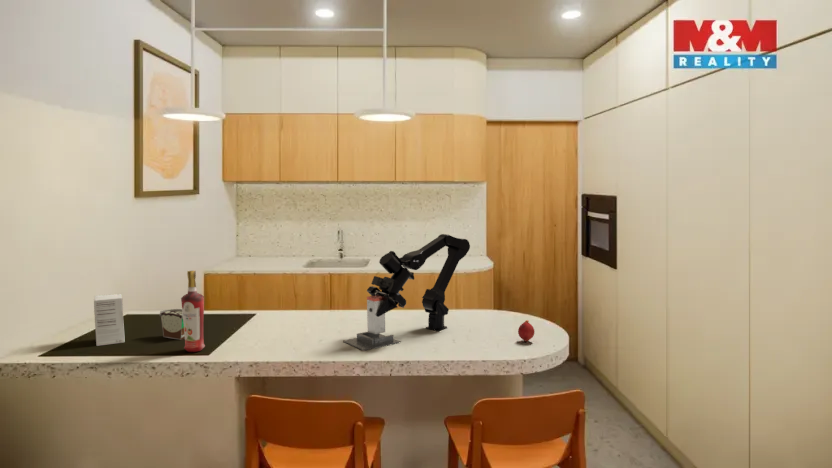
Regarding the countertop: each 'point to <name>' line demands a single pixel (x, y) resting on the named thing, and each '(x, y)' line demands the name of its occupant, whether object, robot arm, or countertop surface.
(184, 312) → the liquor
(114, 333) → the supplement box
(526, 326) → the onion
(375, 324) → the block
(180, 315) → the food container
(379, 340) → the plate
